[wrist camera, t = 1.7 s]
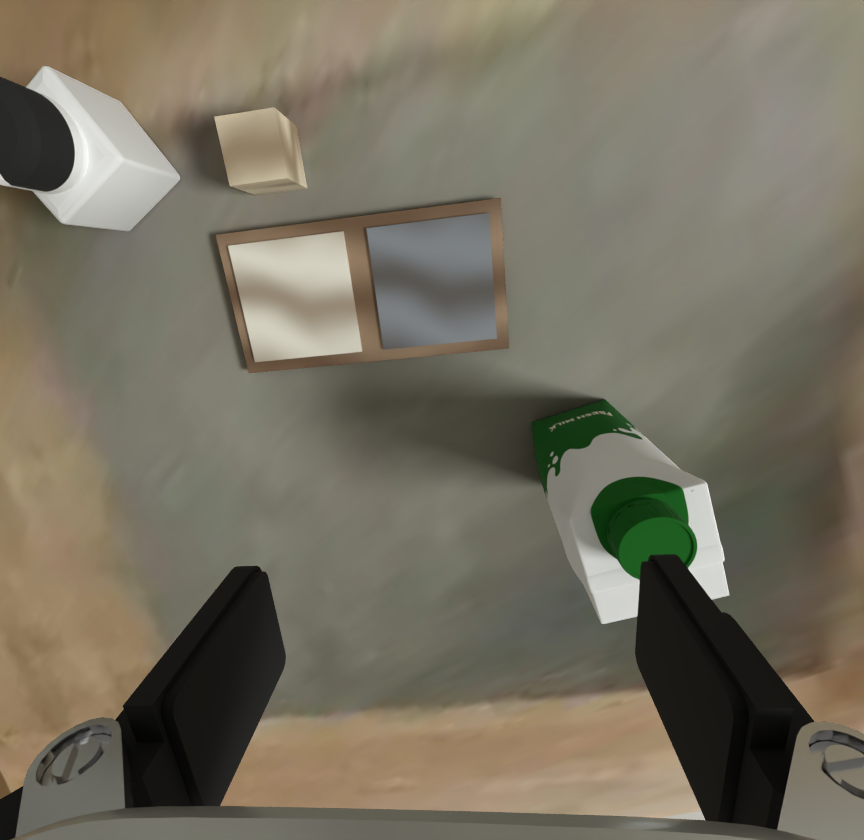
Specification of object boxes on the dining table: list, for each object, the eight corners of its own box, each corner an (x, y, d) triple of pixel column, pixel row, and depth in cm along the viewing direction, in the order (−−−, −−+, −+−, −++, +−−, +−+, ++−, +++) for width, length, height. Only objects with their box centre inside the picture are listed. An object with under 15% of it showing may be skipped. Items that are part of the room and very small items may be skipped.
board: (221, 235, 39) (213, 234, 38) (499, 199, 37) (500, 197, 35) (253, 370, 43) (247, 373, 41) (507, 346, 40) (509, 348, 39)
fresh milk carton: (612, 386, 41) (740, 487, 22) (634, 472, 43) (766, 630, 24) (518, 416, 42) (562, 534, 23) (545, 498, 45) (603, 665, 26)
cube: (243, 134, 36) (214, 116, 32) (296, 126, 36) (274, 107, 32) (256, 195, 38) (229, 186, 34) (307, 188, 37) (287, 178, 33)
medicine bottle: (121, 100, 36) (-37, 22, 25) (184, 178, 38) (62, 139, 26) (67, 160, 38) (-103, 113, 27) (129, 233, 39) (-6, 218, 28)
